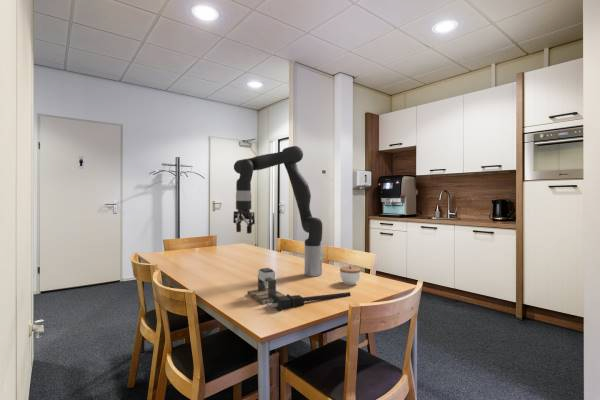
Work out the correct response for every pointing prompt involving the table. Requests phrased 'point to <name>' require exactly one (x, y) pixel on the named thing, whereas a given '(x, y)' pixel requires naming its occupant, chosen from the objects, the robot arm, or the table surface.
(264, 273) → the cutter head
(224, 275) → the table surface
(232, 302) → the table surface
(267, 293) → the cutter stand
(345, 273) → the lidded jar
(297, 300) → the electrical plug
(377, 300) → the table surface
